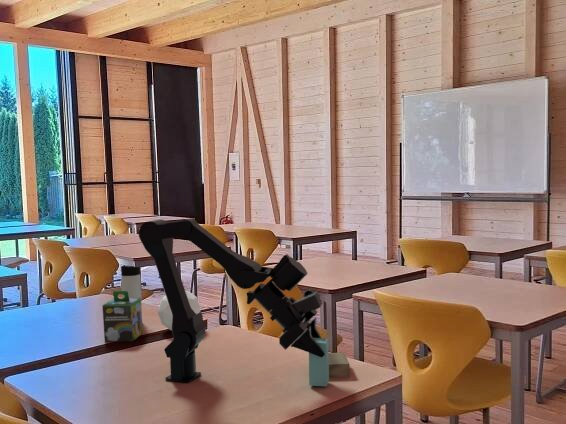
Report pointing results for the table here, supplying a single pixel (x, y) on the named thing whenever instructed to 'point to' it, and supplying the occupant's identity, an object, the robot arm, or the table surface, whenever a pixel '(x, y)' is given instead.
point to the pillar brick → (319, 365)
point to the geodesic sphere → (166, 312)
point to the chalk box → (122, 318)
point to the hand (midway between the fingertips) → (324, 353)
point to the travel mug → (131, 281)
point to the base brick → (338, 365)
